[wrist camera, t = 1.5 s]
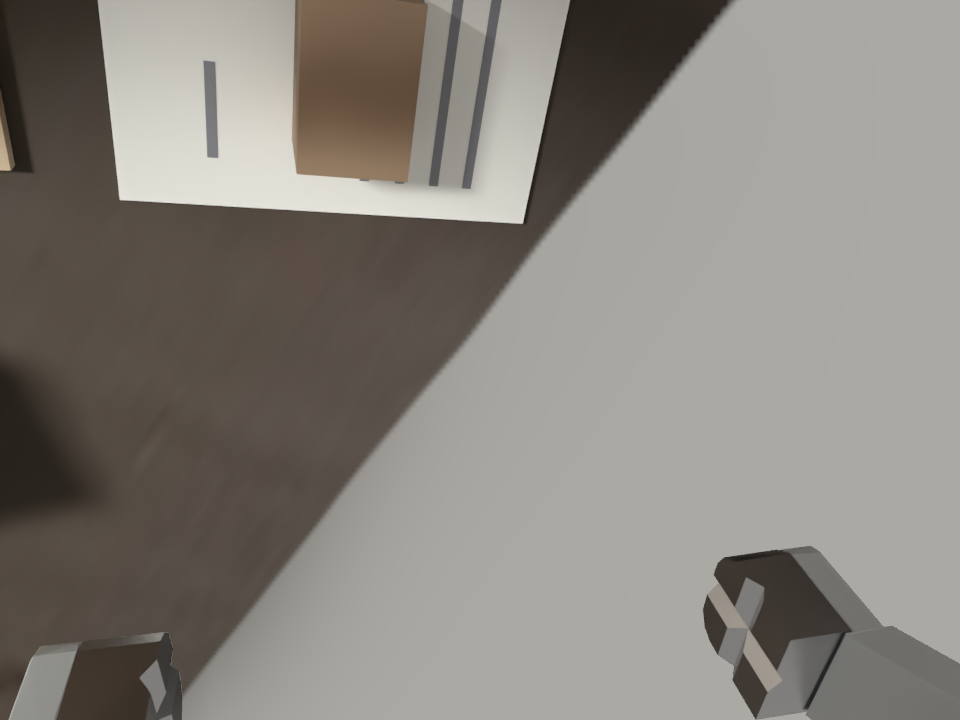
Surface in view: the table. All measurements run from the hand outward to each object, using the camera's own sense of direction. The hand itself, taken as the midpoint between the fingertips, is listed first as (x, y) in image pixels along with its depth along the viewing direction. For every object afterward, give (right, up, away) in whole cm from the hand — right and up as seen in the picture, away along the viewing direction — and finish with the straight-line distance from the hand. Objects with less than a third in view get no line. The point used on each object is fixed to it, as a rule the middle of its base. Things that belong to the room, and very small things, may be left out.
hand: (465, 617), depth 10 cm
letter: (-5, +15, +17) cm, 23 cm away
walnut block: (-5, +15, +17) cm, 23 cm away
